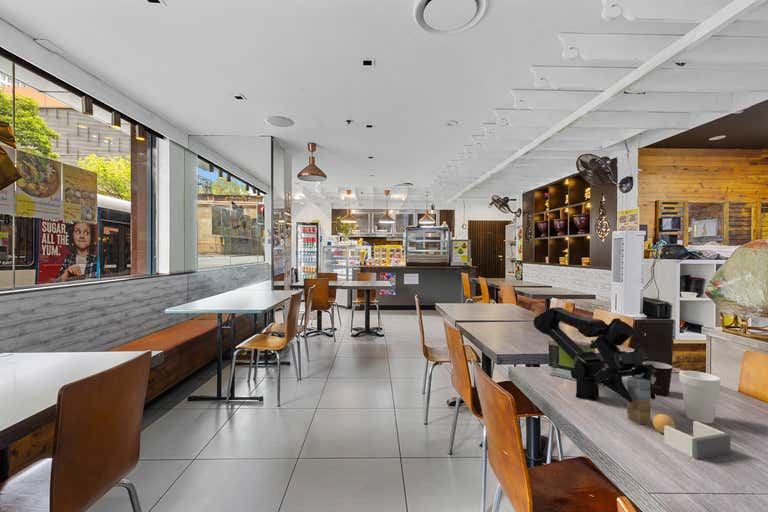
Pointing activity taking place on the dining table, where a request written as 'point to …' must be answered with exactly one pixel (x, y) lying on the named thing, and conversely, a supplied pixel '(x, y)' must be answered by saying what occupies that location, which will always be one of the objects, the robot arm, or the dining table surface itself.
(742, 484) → the dining table surface
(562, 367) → the tea box
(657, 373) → the coffee mug
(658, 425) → the ball
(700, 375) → the foam cup
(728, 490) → the dining table surface
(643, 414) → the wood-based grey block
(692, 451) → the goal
